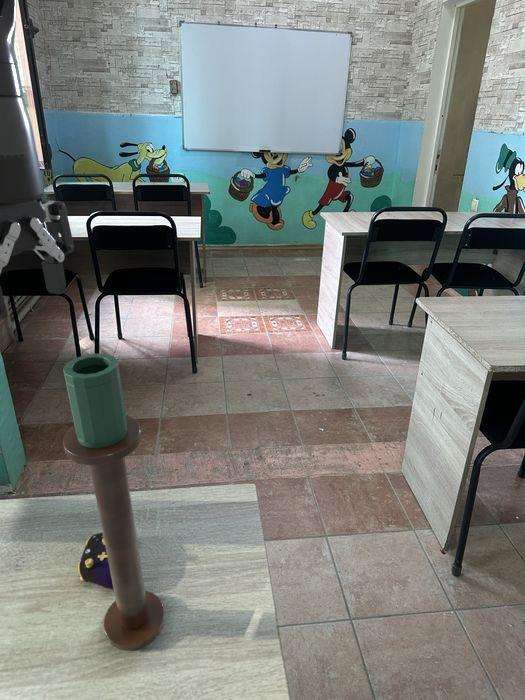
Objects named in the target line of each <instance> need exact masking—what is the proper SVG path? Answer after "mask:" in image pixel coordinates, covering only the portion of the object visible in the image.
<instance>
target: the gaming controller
mask: <svg viewBox="0 0 525 700" xmlns="http://www.w3.org/2000/svg"><path fill="white" fill-rule="evenodd" d="M77 573H78V575H79V576H80V577H79V581H83V582H84V583H92V584H95V585H97V586H100V587H103V588H106V589H109V590H114V588H113V583H112V578H111V573H110V568H109V563H108V558H107V553H106V548H105V542H104V537H103V532H102V531H101V532H98V533H95V534H93V535H91V536H90V537H89V538H87V540H86V541H85V546H84V549H83V551H82V555H81V558H80V560H79V561H78V563H77Z"/></svg>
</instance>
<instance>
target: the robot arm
mask: <svg viewBox="0 0 525 700" xmlns="http://www.w3.org/2000/svg"><path fill="white" fill-rule="evenodd" d="M16 26H17V0H0V275H1V273H2V271H3V268H4V267H6V266H7V265H8V264H9V261H10V259H11V257H15V256H17V255H20V254H21V253H23V252H24V251H30V252H31V251H34V252H35V253H36V254H37V256H39V258H40V259H42V260H43V261H42V262H41V267H42V273H43V277H44V282H45V287H46V291H47V292H48V293H50V294H54V295H61V294H64V293H65V292H66V286H67V281H66V274H65V268H64V264H63V262H64V261H65V256H67V255H68V253H69V254H72V253H74V251H75V245H74V239H73V235H72V230H71V226H70V221H69V217H68V211H67V207H66V203H65V202H63V201H60V200H48V199H47V200H46V199H44V200H42V201H41V198H43V197H44V196H45V188H44V182H43V177H42V172H41V166H40V161H39V155H38V150H37V146H36V140H35V135H34V134H35V133H34V130H33V129H34V128H33V124H32V121H31V117H30V114H29V112H28V109H27V105H26V101H25V98H24V92H23V85H22V81H21V76H20V71H19V66H18V65H19V64H18V61H17V60H18V59H17V57H16V51H15V37H16V29H17V28H16ZM44 226H45V227H44ZM60 237H61V238H60ZM3 293H4V292H3V290H2V286H1V284H0V321H3V320H5V319H8V316H9V314H8V309H7V306H6V302H5V298H4V294H3Z"/></svg>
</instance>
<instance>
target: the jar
mask: <svg viewBox="0 0 525 700" xmlns="http://www.w3.org/2000/svg"><path fill="white" fill-rule="evenodd" d="M119 364H120V363H119V361H118V359H117V358H116V357H115V356H113V355H111V354H107V353H90V354H85V355H80V356H78V357H75V358H73V359H71V360H69V361H67V362H66V364H65V365H64V367H63V369H62V370H63V375H64V381H65V385H66V390H67V395H68V400H69V406H70V410H71V415H72V420H73V426H74V425H75V430H76V434H77V438H78V441H79V443H80V444H81V445H83V446H85V447H88V448H104V447H108V446H111V445H114V444H116V443H118V442H119V441H121V440H122V439H123V438H124V437H125V436H126V434H127V420H126V415H127V414H126V413H127V412H126V408H125V407H126V406H125V400H124V393H123V385H122V379H121V378H122V377H121V371H120V365H119Z"/></svg>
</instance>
